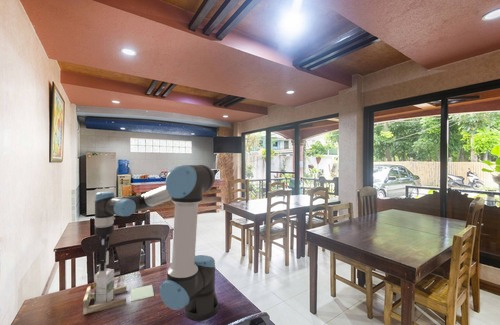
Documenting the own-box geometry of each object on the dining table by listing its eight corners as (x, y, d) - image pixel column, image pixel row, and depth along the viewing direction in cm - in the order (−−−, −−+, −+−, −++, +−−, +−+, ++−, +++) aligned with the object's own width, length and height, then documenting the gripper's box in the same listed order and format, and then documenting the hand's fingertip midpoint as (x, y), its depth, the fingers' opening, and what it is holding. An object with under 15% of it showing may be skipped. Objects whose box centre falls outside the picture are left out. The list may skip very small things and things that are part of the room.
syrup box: (102, 298, 111) (102, 268, 111) (114, 298, 111) (114, 268, 111) (93, 305, 106) (93, 274, 105) (106, 306, 105) (106, 274, 105)
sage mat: (154, 296, 113) (154, 295, 113) (130, 302, 109) (130, 301, 109) (152, 285, 123) (152, 284, 123) (130, 290, 118) (130, 289, 118)
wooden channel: (126, 304, 107) (126, 291, 107) (83, 314, 100) (83, 300, 99) (126, 290, 118) (126, 278, 118) (87, 299, 111) (87, 286, 110)
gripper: (112, 232, 99) (111, 281, 99) (115, 218, 121) (114, 258, 121) (90, 234, 95) (90, 285, 95) (98, 219, 117) (97, 261, 118)
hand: (103, 270), depth 108 cm, fingers open, 13 cm apart
